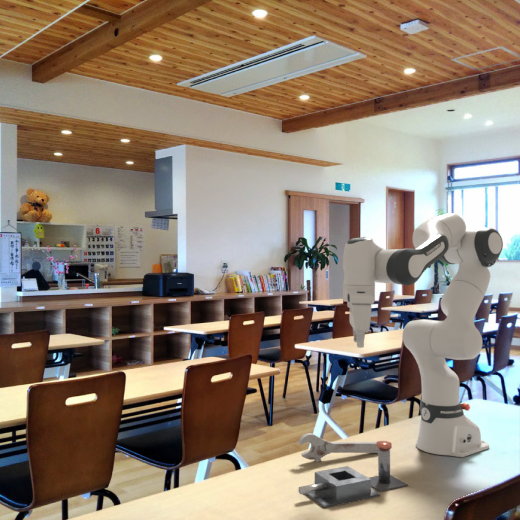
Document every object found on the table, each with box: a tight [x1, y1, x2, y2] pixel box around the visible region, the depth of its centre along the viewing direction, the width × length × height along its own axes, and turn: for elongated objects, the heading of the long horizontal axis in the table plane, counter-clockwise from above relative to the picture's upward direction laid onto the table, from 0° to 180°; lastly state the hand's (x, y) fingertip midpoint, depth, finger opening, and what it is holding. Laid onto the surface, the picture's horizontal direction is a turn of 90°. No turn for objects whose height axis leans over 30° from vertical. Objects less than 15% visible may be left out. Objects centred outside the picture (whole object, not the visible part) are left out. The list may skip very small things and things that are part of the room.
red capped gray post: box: [376, 440, 393, 484], centre depth 150 cm, size 4×4×10 cm
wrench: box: [297, 432, 378, 463], centre depth 169 cm, size 8×2×30 cm
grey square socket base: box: [298, 465, 381, 509], centre depth 143 cm, size 19×12×4 cm, turn 116°
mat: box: [368, 474, 409, 493], centre depth 150 cm, size 9×8×1 cm
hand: (358, 344), depth 162 cm, fingers open, 8 cm apart
